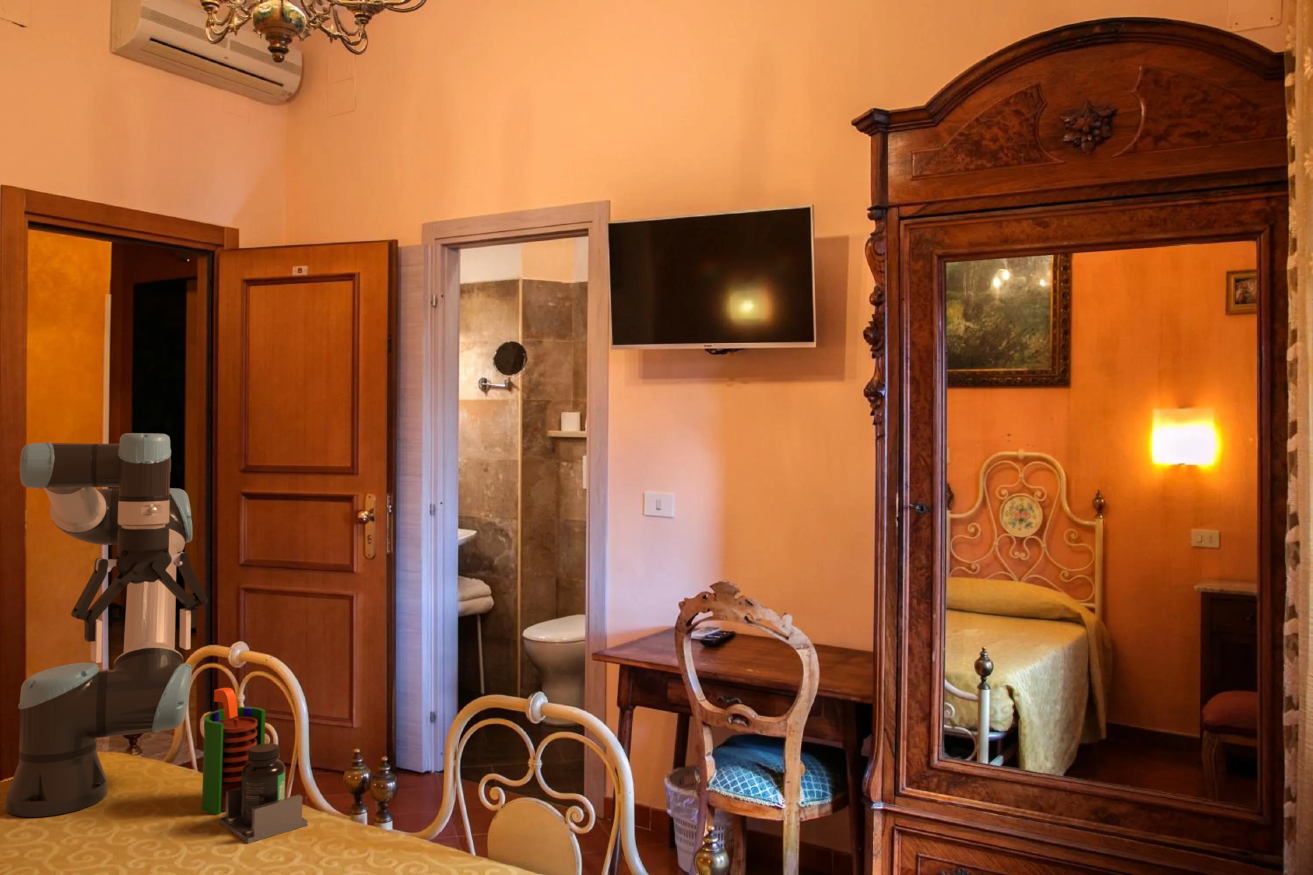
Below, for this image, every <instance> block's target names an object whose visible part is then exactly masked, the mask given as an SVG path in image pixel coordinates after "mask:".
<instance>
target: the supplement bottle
mask: <svg viewBox="0 0 1313 875" xmlns="http://www.w3.org/2000/svg"><path fill="white" fill-rule="evenodd" d="M280 757H281V756H280V745H278V744H276V743H269V742H268V743H265V744H259V745H255V746H252V747H250V748H249V750H248V762H249V763H248V764H247V765H246V766H245V767H244V768H243V770H242V774H241V821H242V823H243V824H245V825H247V826H252V808H253V807H256V806H260V805H263V804H267V803H270V802H274V801H278V800H281V799H285V798H286V765H285V764H284V762H283V761H282V760H280Z"/></svg>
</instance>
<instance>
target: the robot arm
mask: <svg viewBox="0 0 1313 875" xmlns="http://www.w3.org/2000/svg"><path fill="white" fill-rule="evenodd" d="M171 456H172V449H171V438H170V435H168V434H166V433H151V432H150V433H148V432H146V433H143V432H142V433H141V432H140V433H139V432H138V433H137V432H136V433H135V432H131V433H130V432H129V433H127V432H126V433H123V434H122V435H121V436H120V438H119V443H78V442H77V443H74V442H72V443H71V442H70V443H68V442H64V443H63V442H49V441H46V442H35V443H28V444H25V445H24V446H23V447H22V449H21V452H20V457H19V458H20V459H19V478H20V483H21V485H22V486H23V487H25V488H29V489H39V490H41V489H42V490H43V489H44V491H45V492H46V496H47V497H48V499H49V501H50V504H49V514H50V519H52V522H53V524H54V525H55V526H56V527H57V528H58V530H60V531H61V532H63V533H64V534H66V535H68V536H70V537H73V538H74V539H76V540H80V541H83V542H86V543H89V544H95V545H102V546H110V545H111V546H117V554H116V557H115V559H111V558H107V559H106V558H103V557H98V558H96V559H95V560H94V567H93V572H92V574H91V576H90V577H89V580H88V582H87V583H86V585H85V587H84V588H83V590H82V592H81V594H80V596H79V597H78V600H77V602H76V603H75V604H74V607H73V609H72V610H71V612H70V615H71V617H72V618H74V619H76V620H81V621H83V623H84V629H83V630H84V640H85V641H86V642H88V643H90V661H92V662H77V663H70V664H64V665H63V664H62V665H60V666H55V667H51V668H48V669H45V670H42V671H38V672H37V673H33V674H32V675H30V676H29V677H27V678H26V679H25V680H24V681H23V683H22V684H21V687H20V696H19V703H18V706H17V707H18V709H19V737H18V738H19V742H18V752H19V753H18V764H17V767H16V770H15V772H14V775H13V778H12V780H11V784H10V786H9V788H8V791H7V793H6V798H5V810H6V812H7V813H9V814H10V815H13V816H16V817H22V818H23V817H24V818H25V817H26V818H40V817H50V816H58V815H63V814H67V813H71V812H75V811H79V810H82V809H85V808H88V807H90V806H92V805H95V804H97V803H98V802H100V801H102V800H103V799H104V798H106V796H107V794H108V779H107V776H106V773H105V770H104V767H103V766H102V763H101V760H100V757H99V755H98V750H97V747H98V746H97V740H98V738H108V737H110V738H111V737H115V736H116V737H119V736H127V735H136V734H145V733H146V734H147V733H155V734H156V733H159V732H162V731H168V730H174V729H175V730H176V729H177V728H179V727H180V726H181V725H182V724H183V723H184V722H185V718H186V714H187V708H188V703H189V698H190V689H191V683H192V682H191V681H192V665H191V664H189V663H185V662H184V656H183V655H182V653H180V652H179V651H178V650H176V647H175V646H176V605H177V604H176V600H177V599H178V600H177V601H179V602H180V603H181V604H182V605H183V606H184V607H185V608H180V609H179V648H181V649H184V650H191V631H192V630H191V629H195V628H196V626H197V611H198V610H199V609H200V607H201V606H205V605H207V604H208V603H209V599H208V597H207V595H206V592H205V591H204V589H203V587H202V584H201V583H200V581H199V579H198V578H197V575H196V574H195V572H194V569H193V568H192V566H191V561H190V560H191V559H190V554H189V553H187V552H183V550H184V548H185V545H186V544H187V543H190V542H192V541H193V521H192V509H191V504H190V498H189V495H188V493H187V492H186V491H185V490H183V489H181V488H176V487H174V488H171V487H170V484H171V472H172V459H171ZM113 567H115V569H117V571H118V572H119V573H117V575H116V576H114V578H113V579H112V582H111V583H110V584H109V585H108V586H107V588H106V589H105V590H104V591H103V592H102V594H101V595H100V596H99V597H98V598H97V599H96V601H94V599H95V598H96V595H97V593H98V592H99V590H100V587H101V586H102V584H103V582H104V581H105V578H106V576H107V574H108V573H109V572H111V571H112V569H113ZM177 568H178V570H179V572H180V574H181V576H182V578H183V580H184V582H185V583H186V585H187V587H188V589H189V592H190V593H191V595H192V596H193V598H194V599H193V598H192V597H191V596H190V595H189V593H187V592H186V591H185V590H184V589H183V587H181V586H180V584H178V582H177ZM125 588H126V603H125V604H126V606H125V621H124V622H125V623H124V639H123V640H124V642H123V653H121V654H120V655H118V656H117V658H115V660H114V662H113V669H111V670H110V669H109V670H101V671H100V668H99V666H98V663H99V664H100V663H102V660H103V655H102V653H103V648H102V646H103V645H102V644H103V621H101V620H100V619H99V617H101V615H102V614H103V613H104V612H105V610H106V609H107V608H108V607H109V606H110V604H112V602H114V600H115V599H116V598H117V596H119V594H120V593H121V592H122V591H123V589H125ZM93 601H94V603H93ZM92 603H93V604H92ZM91 604H92V605H91Z"/></svg>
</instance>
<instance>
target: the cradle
mask: <svg viewBox="0 0 1313 875" xmlns="http://www.w3.org/2000/svg"><path fill="white" fill-rule="evenodd" d="M219 825H221V826H222V827H223V828H225V827H226V828H225V829H227V830H228V829H229V830H230V831H229V830H228V831H229V832H231V833H232V832H233V833H232V834H234V835H235V836H236V837H238V838H239V837H240V838H239V839H240V840H242V841H243V842H244V843H247V844H251V842H252V843H255V842H258V841H261V840H264V839H268V838H271V837H274V836H278V835H280V834H283V833H287V832H291V831H294V830H297V829H300V828H303V827H304V828H305V827H307V826H308V819H306V818H304V817H303V795H301V794H296V795H292V796H288V797H285V799H281V800H278V801H274V802H270V803H267V804H263V805H260V806H256V807H253V808H252V826H247V825H245V824H243V823H242V821H241V787H239V788H235V789H232V790H228V791H226V812H225V816H224V817H221V818H219ZM257 840H258V841H257ZM254 841H255V842H254Z"/></svg>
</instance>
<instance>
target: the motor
mask: <svg viewBox="0 0 1313 875" xmlns="http://www.w3.org/2000/svg"><path fill="white" fill-rule="evenodd" d="M213 692H214V694H213V695H214V696H213V702H214V703H215V702H216V703H217V702H218V703H219V702H220V703H221V704H222V705H223V708H222V709H218V710H215V711H211V712H209V713H207V714H206V715H204V723H203V724H204V726H203V728H204V729H203V754H202V755H203V757H202V758H203V759H202V760H203V762H202V786H201V787H202V788H201V790H202V791H201V794H202V796H201V809H202V811H204V812H205V813H207V814H210V815H217V814H218V815H220V814H221V813H222V812H221V811H224V812H223V813H226V791H228V790H232V789H235V788H239V787H241V774H242V770H243V768H244V767H245V766H246V765H247V764H248V763H249V762H248V750H249V748H250V747H252V746H255V745H259V744H266V743H265V742H266V741H265V740H266V739H265V737H266V709H264V708H260V707H255V706H254V707H253V706H238V704H237V697H236V694H235V691H234V689H232V688H231V687H221V688H218V689H214V691H213Z"/></svg>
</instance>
